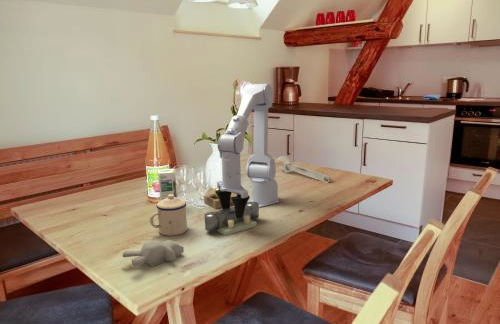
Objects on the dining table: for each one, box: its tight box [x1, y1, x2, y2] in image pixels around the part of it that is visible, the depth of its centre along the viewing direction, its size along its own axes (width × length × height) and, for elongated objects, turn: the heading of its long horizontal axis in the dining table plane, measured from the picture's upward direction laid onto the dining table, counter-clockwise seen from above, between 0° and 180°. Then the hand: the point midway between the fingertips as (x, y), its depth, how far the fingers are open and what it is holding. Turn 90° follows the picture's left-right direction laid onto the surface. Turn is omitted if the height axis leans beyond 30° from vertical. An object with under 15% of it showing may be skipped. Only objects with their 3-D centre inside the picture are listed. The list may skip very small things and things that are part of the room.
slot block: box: [203, 193, 234, 210], centre depth 149 cm, size 8×8×3 cm
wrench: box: [276, 155, 332, 184], centre depth 183 cm, size 8×2×30 cm
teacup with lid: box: [149, 194, 188, 236], centre depth 123 cm, size 12×9×12 cm
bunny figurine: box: [122, 239, 185, 267], centre depth 105 cm, size 10×5×15 cm
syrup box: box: [157, 168, 178, 201], centre depth 143 cm, size 6×6×14 cm
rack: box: [217, 215, 258, 236], centre depth 128 cm, size 12×9×4 cm
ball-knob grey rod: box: [204, 202, 260, 232], centre depth 127 cm, size 20×4×5 cm, turn 126°
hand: (232, 214), depth 127 cm, fingers open, 7 cm apart
